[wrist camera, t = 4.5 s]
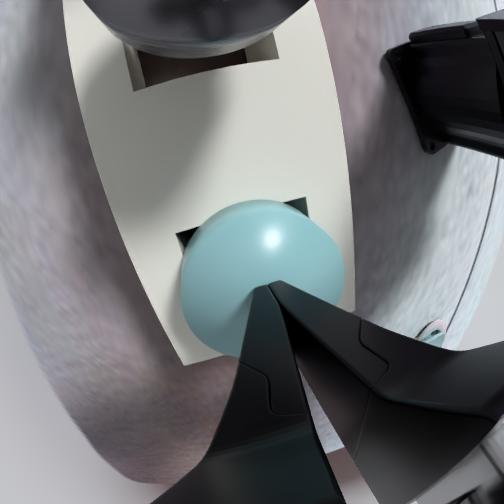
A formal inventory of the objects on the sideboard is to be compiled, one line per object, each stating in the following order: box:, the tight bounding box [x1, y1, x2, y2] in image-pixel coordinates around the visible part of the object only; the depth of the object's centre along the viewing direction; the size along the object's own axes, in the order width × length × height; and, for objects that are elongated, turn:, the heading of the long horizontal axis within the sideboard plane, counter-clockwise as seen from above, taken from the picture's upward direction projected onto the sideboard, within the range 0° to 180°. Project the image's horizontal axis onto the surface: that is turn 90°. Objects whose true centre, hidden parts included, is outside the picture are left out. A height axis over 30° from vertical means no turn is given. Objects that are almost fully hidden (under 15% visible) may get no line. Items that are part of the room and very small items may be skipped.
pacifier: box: [415, 319, 446, 347], centre depth 20 cm, size 7×6×6 cm
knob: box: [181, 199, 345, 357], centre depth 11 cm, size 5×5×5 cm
